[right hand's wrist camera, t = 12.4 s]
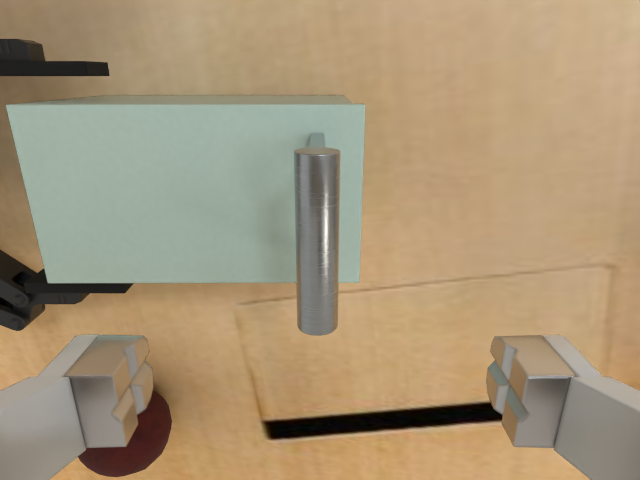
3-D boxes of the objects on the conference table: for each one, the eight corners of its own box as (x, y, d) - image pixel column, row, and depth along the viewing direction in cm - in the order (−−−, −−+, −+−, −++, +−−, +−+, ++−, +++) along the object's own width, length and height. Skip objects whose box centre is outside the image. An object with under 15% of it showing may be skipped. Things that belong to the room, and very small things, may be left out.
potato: (84, 396, 41) (39, 456, 35) (144, 355, 40) (110, 410, 33) (138, 445, 44) (106, 511, 37) (198, 408, 42) (176, 471, 35)
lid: (364, 103, 23) (387, 118, 15) (358, 277, 26) (374, 361, 19) (15, 103, 23) (-140, 118, 15) (55, 277, 26) (-55, 362, 19)
